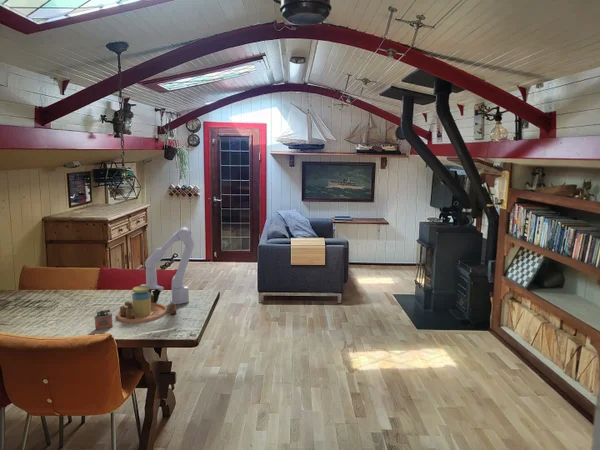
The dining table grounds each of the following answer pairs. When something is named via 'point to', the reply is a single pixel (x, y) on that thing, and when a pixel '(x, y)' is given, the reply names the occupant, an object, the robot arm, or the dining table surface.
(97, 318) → the lighter
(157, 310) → the dish
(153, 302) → the bead
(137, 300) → the jar
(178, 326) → the dining table surface
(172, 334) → the dining table surface
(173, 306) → the bead
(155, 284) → the robot arm
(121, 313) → the seated bead
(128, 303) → the seated bead
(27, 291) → the dining table surface
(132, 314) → the seated bead
